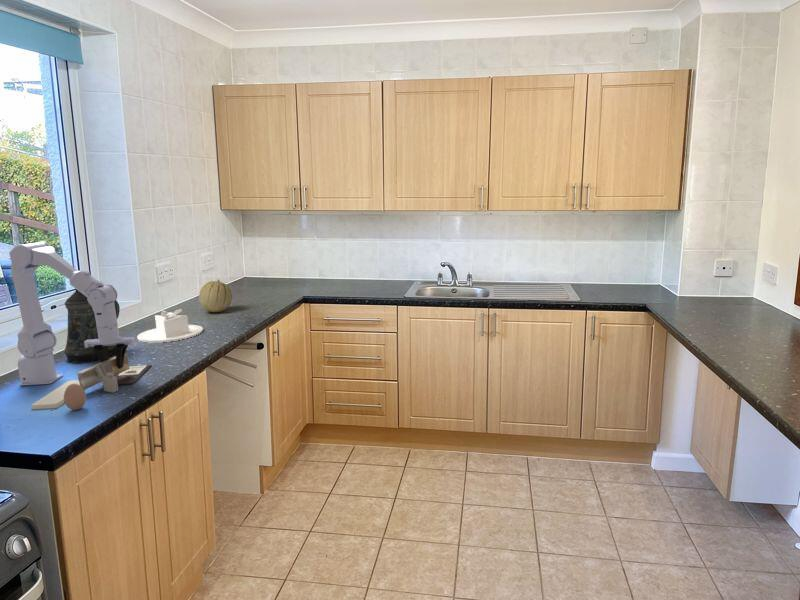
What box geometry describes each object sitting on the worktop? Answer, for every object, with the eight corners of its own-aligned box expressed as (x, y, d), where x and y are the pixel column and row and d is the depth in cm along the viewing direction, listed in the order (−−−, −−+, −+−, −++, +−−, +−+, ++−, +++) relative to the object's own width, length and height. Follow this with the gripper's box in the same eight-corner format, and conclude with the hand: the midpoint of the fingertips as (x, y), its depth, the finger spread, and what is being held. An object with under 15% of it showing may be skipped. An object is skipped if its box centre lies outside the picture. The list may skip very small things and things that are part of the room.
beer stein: (55, 363, 203) (42, 293, 198) (91, 347, 222) (80, 283, 217) (98, 363, 201) (86, 292, 195) (131, 347, 219) (121, 281, 214)
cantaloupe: (194, 315, 268) (190, 283, 265) (210, 308, 282) (206, 277, 279) (224, 315, 265) (220, 283, 262) (238, 308, 279) (235, 277, 276)
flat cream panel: (31, 409, 161) (30, 405, 160) (69, 384, 180) (68, 380, 180) (57, 407, 161) (56, 403, 160) (92, 382, 180) (91, 379, 180)
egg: (92, 405, 161) (87, 380, 160) (80, 413, 156) (76, 387, 155) (73, 405, 162) (69, 380, 160) (61, 413, 156) (57, 387, 155)
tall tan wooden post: (80, 388, 171) (76, 372, 169) (125, 368, 185) (121, 353, 183) (85, 389, 170) (81, 373, 168) (129, 368, 184) (126, 353, 182)
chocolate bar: (102, 385, 176) (123, 367, 193) (103, 388, 176) (123, 369, 193) (133, 383, 177) (151, 364, 194) (134, 386, 177) (151, 367, 194)
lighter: (118, 390, 172) (115, 364, 170) (113, 392, 170) (110, 366, 169) (101, 388, 175) (98, 362, 173) (96, 389, 173) (93, 364, 172)
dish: (216, 331, 239) (212, 304, 236) (162, 347, 218) (158, 317, 216) (178, 325, 252) (175, 299, 250) (124, 339, 232) (120, 312, 229)
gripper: (136, 320, 181) (142, 362, 184) (89, 323, 180) (96, 365, 183) (126, 326, 174) (133, 369, 177) (77, 329, 174) (85, 372, 176)
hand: (113, 368), depth 179 cm, fingers closed on tall tan wooden post, 4 cm apart
